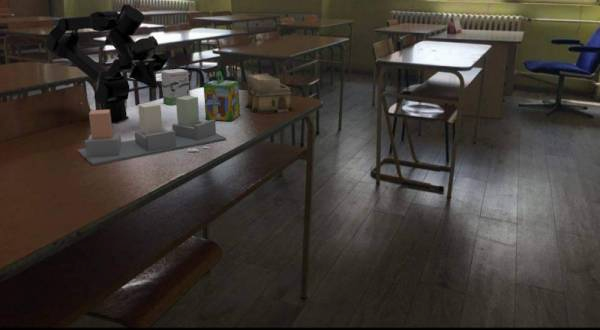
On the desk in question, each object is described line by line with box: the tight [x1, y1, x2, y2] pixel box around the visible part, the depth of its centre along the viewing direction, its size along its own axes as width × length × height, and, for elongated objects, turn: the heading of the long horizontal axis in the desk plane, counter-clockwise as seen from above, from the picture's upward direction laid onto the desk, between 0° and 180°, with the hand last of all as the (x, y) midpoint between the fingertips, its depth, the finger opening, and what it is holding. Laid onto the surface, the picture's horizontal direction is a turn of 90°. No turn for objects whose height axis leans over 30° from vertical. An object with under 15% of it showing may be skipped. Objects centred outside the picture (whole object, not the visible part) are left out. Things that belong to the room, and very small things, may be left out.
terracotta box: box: [88, 109, 114, 140], centre depth 126 cm, size 4×4×10 cm
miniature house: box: [245, 73, 293, 114], centre depth 173 cm, size 15×14×11 cm
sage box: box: [175, 95, 200, 127], centre depth 142 cm, size 4×4×10 cm
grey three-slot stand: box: [77, 120, 227, 166], centre depth 134 cm, size 14×36×5 cm, turn 128°
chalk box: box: [203, 70, 241, 122], centre depth 161 cm, size 9×9×15 cm
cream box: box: [137, 101, 163, 135], centre depth 133 cm, size 4×4×10 cm
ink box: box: [160, 68, 191, 106], centre depth 181 cm, size 9×5×12 cm, turn 134°
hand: (155, 87), depth 145 cm, fingers closed
